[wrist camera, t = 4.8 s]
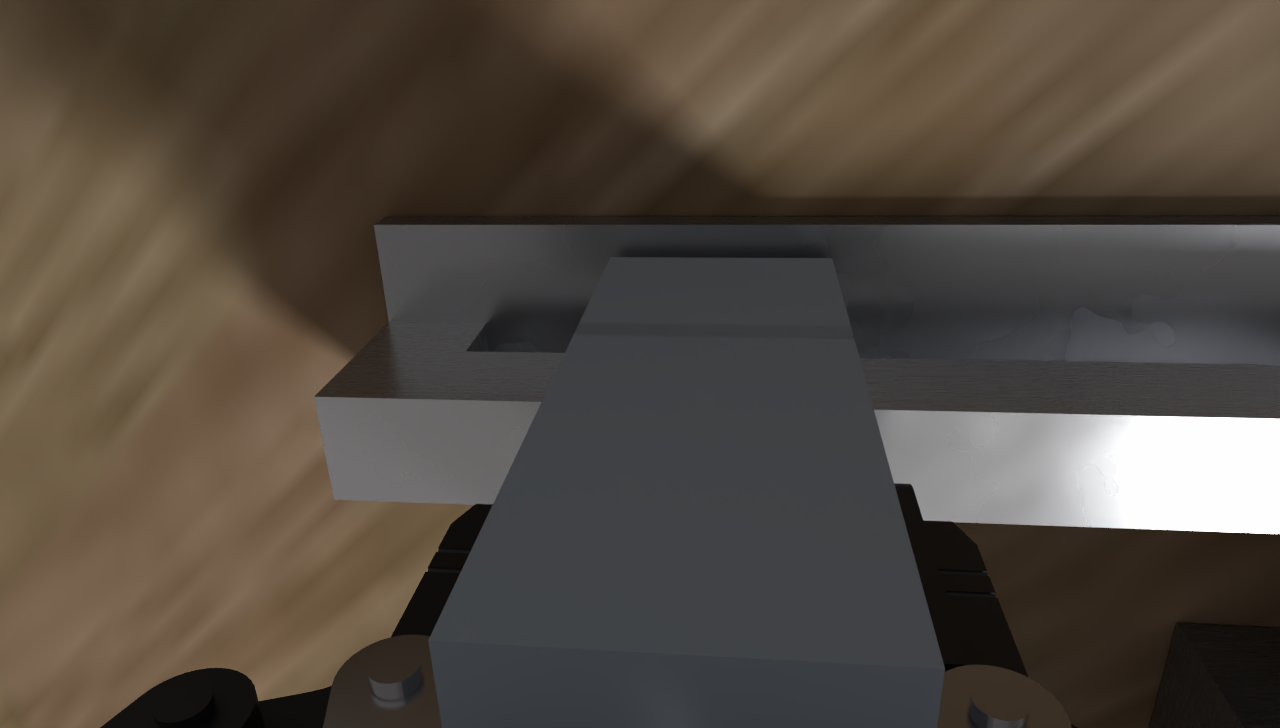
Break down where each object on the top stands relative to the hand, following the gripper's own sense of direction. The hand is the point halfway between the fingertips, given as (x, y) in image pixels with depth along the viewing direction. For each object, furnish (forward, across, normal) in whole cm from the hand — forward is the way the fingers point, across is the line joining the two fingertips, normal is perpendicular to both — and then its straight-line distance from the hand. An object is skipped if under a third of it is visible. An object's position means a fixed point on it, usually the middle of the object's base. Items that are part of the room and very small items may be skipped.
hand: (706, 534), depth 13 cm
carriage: (+6, 0, 0) cm, 6 cm away
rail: (+6, -4, 0) cm, 7 cm away
